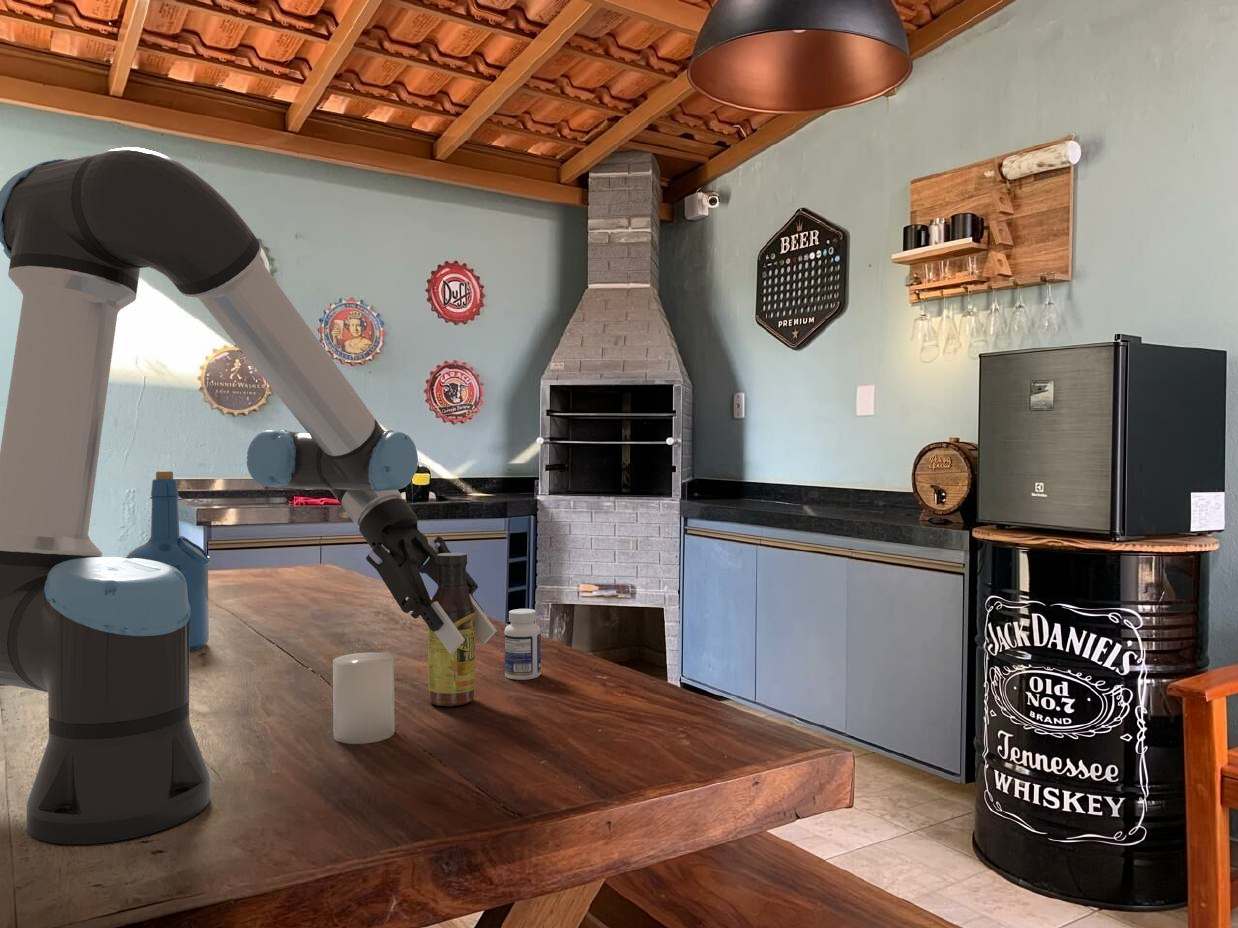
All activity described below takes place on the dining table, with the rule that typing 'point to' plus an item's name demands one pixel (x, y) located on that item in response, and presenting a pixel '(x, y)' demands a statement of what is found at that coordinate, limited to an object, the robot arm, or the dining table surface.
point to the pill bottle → (522, 645)
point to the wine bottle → (178, 553)
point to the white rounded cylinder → (363, 697)
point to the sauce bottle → (457, 670)
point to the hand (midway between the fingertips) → (473, 641)
